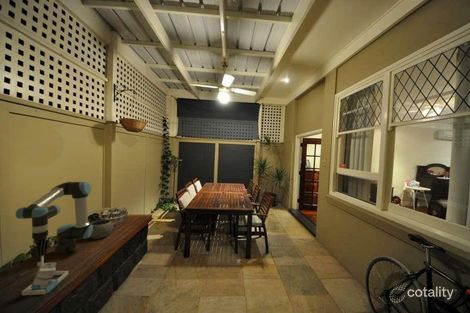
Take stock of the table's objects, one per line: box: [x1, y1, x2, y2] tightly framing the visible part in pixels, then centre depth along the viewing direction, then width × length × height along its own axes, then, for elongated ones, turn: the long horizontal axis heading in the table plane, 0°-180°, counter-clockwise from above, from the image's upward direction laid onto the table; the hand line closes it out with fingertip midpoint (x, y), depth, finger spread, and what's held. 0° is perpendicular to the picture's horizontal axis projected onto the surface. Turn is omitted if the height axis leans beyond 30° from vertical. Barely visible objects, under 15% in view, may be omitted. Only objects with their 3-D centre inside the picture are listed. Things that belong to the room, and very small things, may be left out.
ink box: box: [31, 262, 57, 290], centre depth 131 cm, size 9×5×15 cm, turn 137°
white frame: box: [21, 270, 69, 296], centre depth 135 cm, size 20×14×4 cm
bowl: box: [89, 219, 114, 240], centre depth 210 cm, size 23×23×15 cm
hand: (40, 265), depth 130 cm, fingers closed
